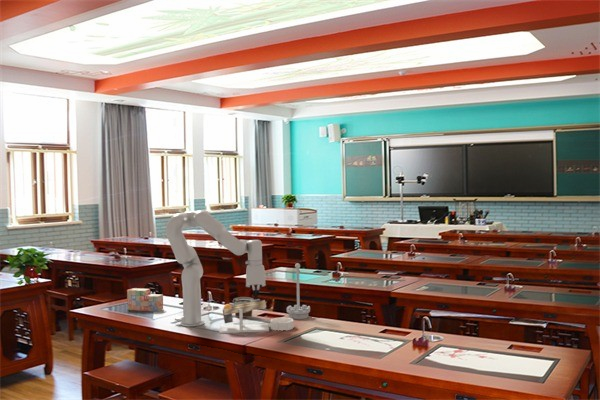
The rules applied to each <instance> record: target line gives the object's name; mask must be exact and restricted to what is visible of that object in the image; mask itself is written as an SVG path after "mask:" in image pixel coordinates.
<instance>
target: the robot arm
mask: <svg viewBox="0 0 600 400" xmlns="http://www.w3.org/2000/svg"><path fill="white" fill-rule="evenodd" d="M165 225H166V226H165V234H166V237H167V239H168V242H169V244H170V247H171V250H172V254H174V257H175V261H177V263H178V264H180V265H182V267H183V270H182V271H181V276H180V277H181V286H182V309H183V310H182V312H183V313H182V314H183V315H181V316H175V317H174V321H175V322H180V324H179V325H180V326H182V327H188V328H189V327H198V326H199V327H200V326H202V325H204V324H205V320H204V319H202V293H201V291H202V290H201V278H202V277H203V274H204V269H203V265H202V263H201V260H200V258H199V256H198V254H197V251H196V250H195V248H194V247H193V246H192V245H189V244H188V241H187V239H186V237H185V235H184V232H183V229H185V228H186V229H187V228H194V227H198V228H200V229H201V230H203V231H204V232H205V233H206V234H208V235H210V237H212V238H214V239H215V240H216V241H217V242H218V243H219V244H221V245H222V246H223V247H224V248H225V249H227V250H228V251H230V252H231V253H233V254H234V255H235V256H242V255H244V254H246V253H247V260H246V261H245V265H246V271H245V287H246V288H250V289H251V290H252V295H253V297H254V298H255V299H256V298H257V299H259V298H258V297H259V296H260V289H261V288H262V287H265V286H267V284H266V270H265V266H264V265H263V247H262V246H263V245H262V243H263V242H262V241H261V240H260V239H239V238H237V237H236V236H234V235H233V234H232V233H231V232H230V231H229V230H228V229H227V227H226V226H225V225H224V224H223V223H222V222H220V221H219V220H217V219H216V218H214V217H213V216H212V215H211V213H210V212H209V211H208V210H206V209H205V210H204V209H201V210H195V211H194V210H193V211H185V212H180V213H179V212H178V213H176V214H173V215H172V216H171V217H169V219H168V221H167V223H166V224H165ZM255 286H256V287H255Z"/></svg>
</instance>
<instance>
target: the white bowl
mask: <svg viewBox="0 0 600 400" xmlns="http://www.w3.org/2000/svg"><path fill="white" fill-rule="evenodd" d="M294 322H295V321H294V319H292V318H289V317H275V318H271V319H270V326H269V329H270V330H272V331H276V330H278V332H281V331H282V332H284V331H283V330H286V331H290V330H293V328H295V327H294V325H295V324H294ZM279 330H281V331H279Z"/></svg>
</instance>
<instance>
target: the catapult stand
mask: <svg viewBox="0 0 600 400" xmlns="http://www.w3.org/2000/svg"><path fill="white" fill-rule="evenodd" d="M238 318H239V320H238V321H239V324H230V325H229V324H228V325H219V330H218V331H219V332H218V333H219V334H231V333H232V334H233V333H234V334H235V333H239V334H241V333H255V332H256V333H259V332H260V333H261V332H270V326H269V323H253V324H244V322H243V321H244V319H243V318H244V317H243V310H242V309H239V317H238Z"/></svg>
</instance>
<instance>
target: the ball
mask: <svg viewBox="0 0 600 400" xmlns="http://www.w3.org/2000/svg"><path fill="white" fill-rule="evenodd" d="M231 306H232V305H231V304H230V303H226V304H225V305H224V306H223V307H224V310H225V309H230V308H232V307H231Z"/></svg>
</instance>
